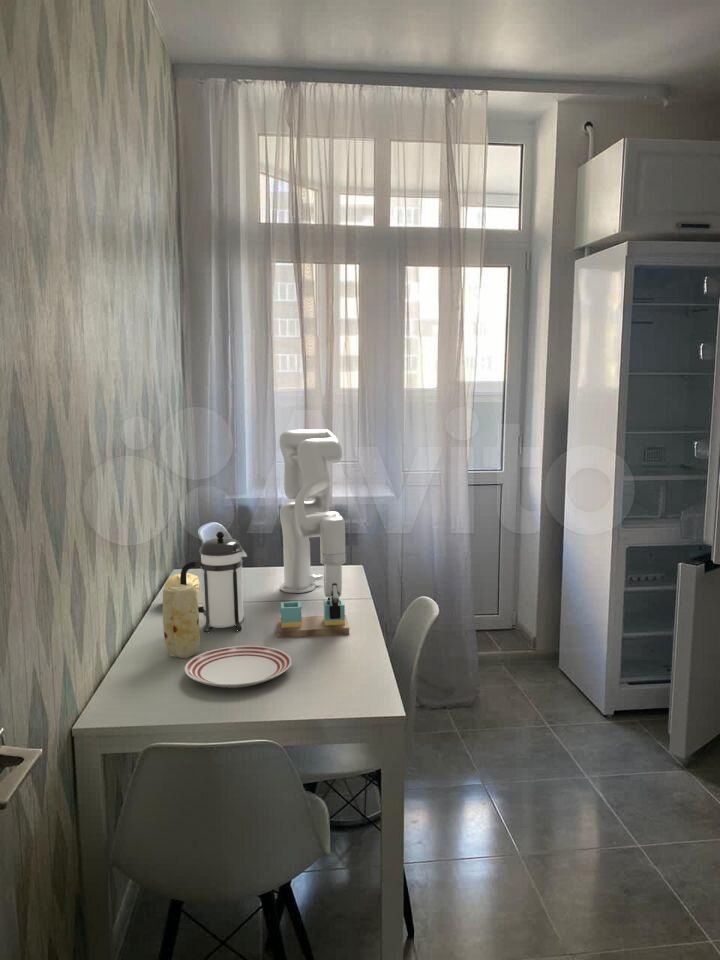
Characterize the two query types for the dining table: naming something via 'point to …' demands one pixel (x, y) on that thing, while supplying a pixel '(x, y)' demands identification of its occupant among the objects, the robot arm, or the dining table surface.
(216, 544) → the coffee press
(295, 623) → the seated sleeve
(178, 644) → the food model
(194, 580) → the sculpture
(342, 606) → the sleeve
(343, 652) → the dining table surface
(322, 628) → the pin board
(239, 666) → the dinner plate
